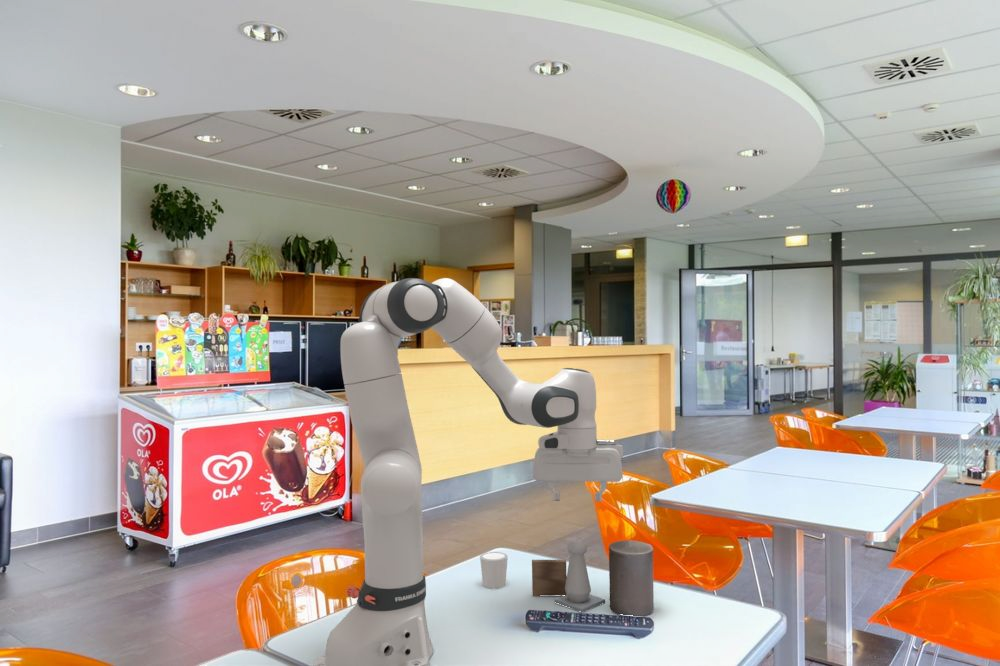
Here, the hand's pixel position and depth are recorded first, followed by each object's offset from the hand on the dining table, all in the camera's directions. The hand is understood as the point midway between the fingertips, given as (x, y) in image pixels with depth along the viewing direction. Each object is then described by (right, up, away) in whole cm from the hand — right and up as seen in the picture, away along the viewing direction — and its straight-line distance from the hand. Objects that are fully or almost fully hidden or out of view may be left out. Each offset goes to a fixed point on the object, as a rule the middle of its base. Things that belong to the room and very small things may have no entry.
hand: (577, 500), depth 155 cm
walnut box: (-6, -23, +5) cm, 24 cm away
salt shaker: (0, -22, -1) cm, 22 cm away
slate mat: (+1, -23, 0) cm, 23 cm away
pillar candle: (+12, -23, -4) cm, 26 cm away
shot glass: (-19, -24, +13) cm, 33 cm away
